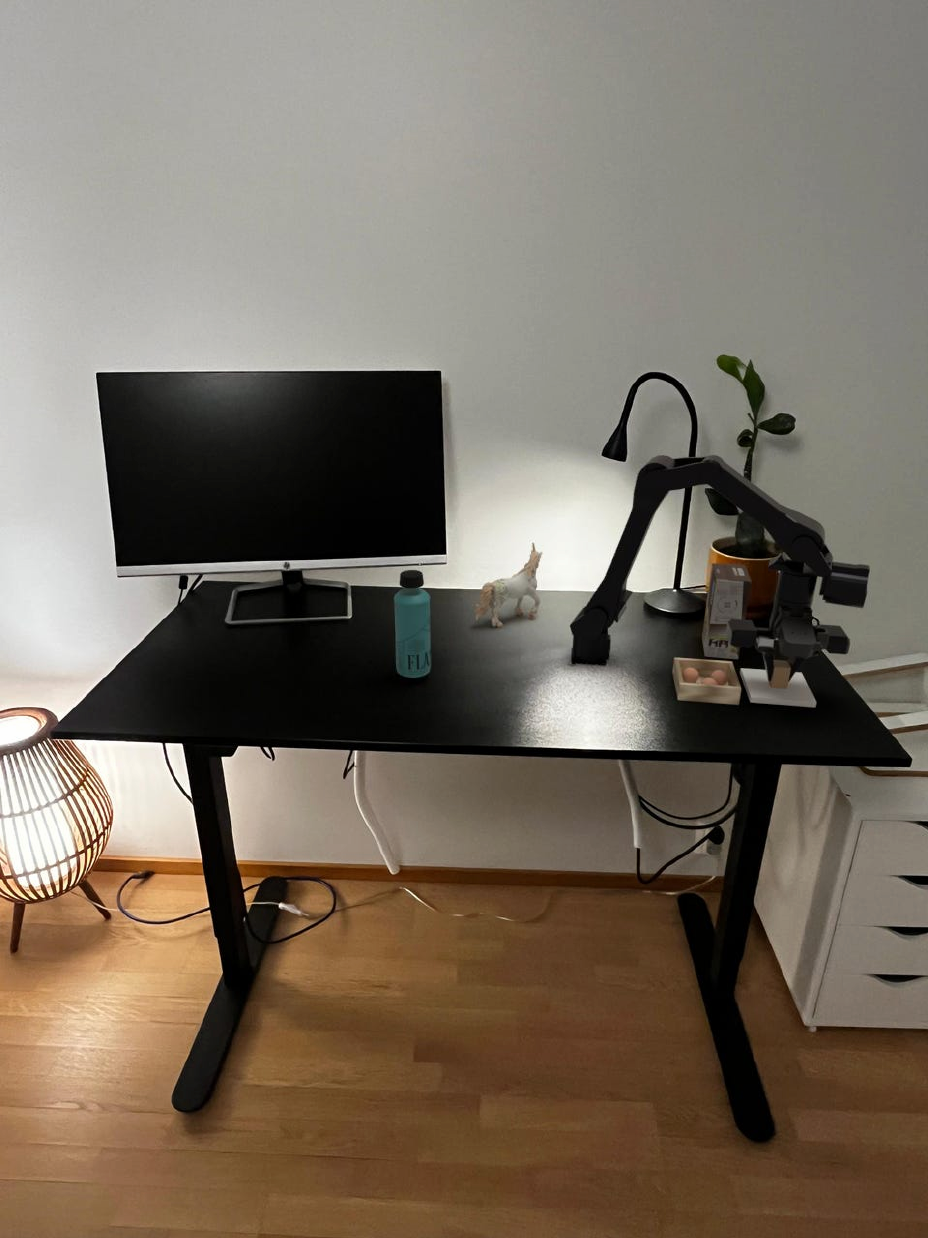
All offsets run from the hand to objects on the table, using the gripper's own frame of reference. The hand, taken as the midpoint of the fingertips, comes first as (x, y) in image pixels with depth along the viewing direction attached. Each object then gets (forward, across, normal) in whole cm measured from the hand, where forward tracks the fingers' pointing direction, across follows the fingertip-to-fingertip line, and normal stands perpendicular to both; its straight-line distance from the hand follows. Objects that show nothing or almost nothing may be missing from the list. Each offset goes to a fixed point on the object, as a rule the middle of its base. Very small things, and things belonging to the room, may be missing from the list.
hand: (777, 680), depth 138 cm
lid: (+2, 0, 0) cm, 2 cm away
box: (+3, -12, 0) cm, 12 cm away
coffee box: (+3, -7, +17) cm, 19 cm away
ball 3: (+2, -9, +1) cm, 10 cm away
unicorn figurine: (+3, -49, +27) cm, 56 cm away
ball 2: (+2, -12, -2) cm, 12 cm away
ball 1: (+2, -14, +2) cm, 15 cm away
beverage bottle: (+3, -63, -3) cm, 63 cm away
